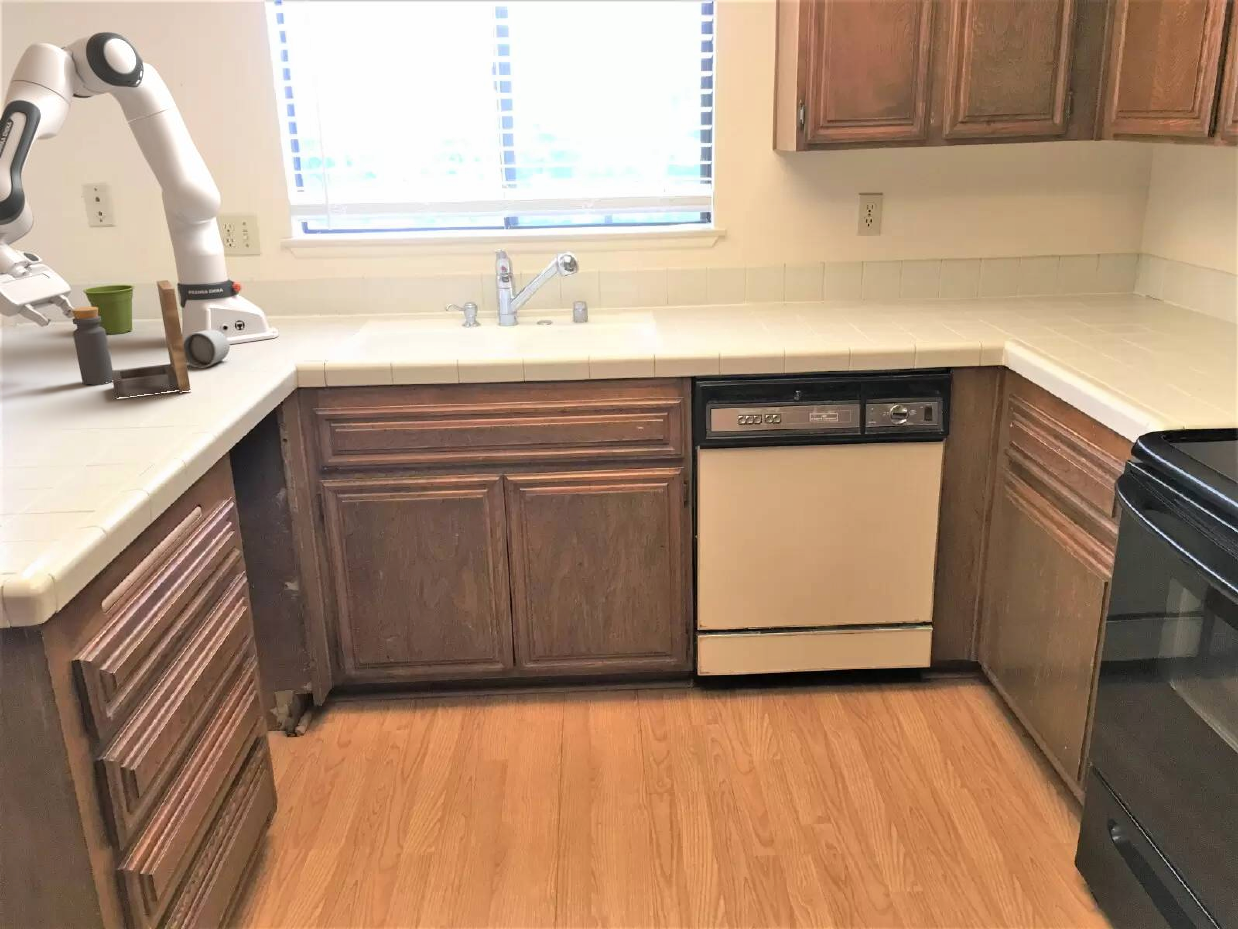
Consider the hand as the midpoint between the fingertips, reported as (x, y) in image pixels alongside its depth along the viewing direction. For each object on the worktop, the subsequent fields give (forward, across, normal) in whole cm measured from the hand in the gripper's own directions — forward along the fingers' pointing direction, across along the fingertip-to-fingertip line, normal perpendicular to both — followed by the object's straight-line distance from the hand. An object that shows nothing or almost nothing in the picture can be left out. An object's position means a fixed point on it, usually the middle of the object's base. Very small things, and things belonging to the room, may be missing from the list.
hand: (60, 319), depth 201 cm
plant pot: (-5, +55, +23) cm, 60 cm away
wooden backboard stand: (+22, -7, -4) cm, 24 cm away
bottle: (+13, 0, +5) cm, 14 cm away
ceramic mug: (+24, +15, -5) cm, 29 cm away
